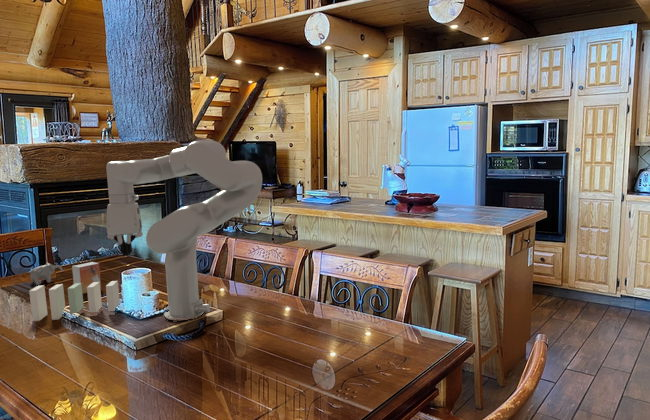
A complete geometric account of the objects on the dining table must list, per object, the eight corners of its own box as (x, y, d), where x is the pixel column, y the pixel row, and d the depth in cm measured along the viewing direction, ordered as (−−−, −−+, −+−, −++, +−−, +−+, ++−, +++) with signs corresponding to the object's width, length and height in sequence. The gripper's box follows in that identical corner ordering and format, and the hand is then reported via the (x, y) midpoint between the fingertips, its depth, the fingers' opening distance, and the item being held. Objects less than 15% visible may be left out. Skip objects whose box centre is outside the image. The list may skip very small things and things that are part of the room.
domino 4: (102, 310, 165) (99, 281, 163) (96, 316, 159) (93, 286, 157) (96, 311, 164) (93, 282, 163) (89, 317, 159) (86, 287, 157)
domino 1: (47, 314, 163) (44, 285, 161) (39, 320, 157) (35, 290, 155) (41, 314, 162) (37, 285, 161) (32, 321, 157) (29, 290, 155)
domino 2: (66, 313, 163) (62, 284, 162) (58, 319, 157) (55, 289, 156) (59, 313, 163) (56, 284, 162) (51, 319, 157) (48, 289, 156)
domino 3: (84, 312, 164) (81, 283, 163) (77, 318, 158) (74, 288, 157) (77, 312, 164) (74, 283, 162) (70, 318, 158) (67, 288, 157)
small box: (81, 294, 184) (78, 267, 183) (74, 292, 187) (71, 265, 186) (102, 289, 190) (99, 263, 189) (94, 287, 194) (92, 261, 192)
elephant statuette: (26, 285, 202) (23, 267, 200) (53, 276, 212) (50, 259, 211) (40, 287, 198) (37, 269, 196) (67, 278, 208) (64, 260, 207)
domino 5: (120, 309, 165) (117, 280, 164) (114, 315, 159) (112, 285, 158) (114, 309, 165) (111, 281, 164) (108, 316, 159) (105, 286, 158)
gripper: (148, 197, 163) (153, 251, 165) (101, 199, 161) (106, 254, 163) (143, 199, 155) (147, 256, 158) (93, 201, 153) (98, 259, 156)
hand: (126, 255), depth 160 cm, fingers closed
